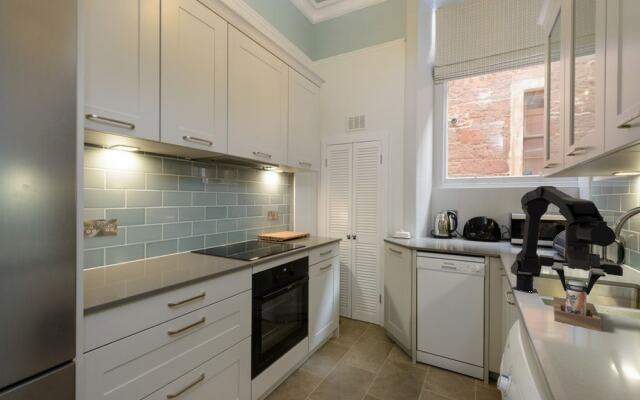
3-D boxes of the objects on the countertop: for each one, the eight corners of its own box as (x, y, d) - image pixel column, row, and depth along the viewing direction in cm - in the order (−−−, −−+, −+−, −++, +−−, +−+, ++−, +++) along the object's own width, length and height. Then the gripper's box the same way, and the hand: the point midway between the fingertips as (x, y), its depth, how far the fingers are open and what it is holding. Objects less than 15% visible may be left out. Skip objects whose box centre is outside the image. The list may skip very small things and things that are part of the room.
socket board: (553, 305, 99) (553, 296, 99) (592, 312, 93) (593, 303, 93) (554, 320, 85) (554, 310, 85) (601, 331, 79) (601, 320, 79)
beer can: (561, 318, 87) (562, 279, 87) (569, 315, 89) (570, 277, 89) (581, 324, 83) (582, 283, 83) (589, 321, 85) (590, 281, 85)
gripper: (538, 240, 86) (536, 292, 86) (627, 248, 74) (626, 308, 74) (538, 237, 94) (537, 284, 94) (619, 244, 83) (618, 297, 83)
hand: (576, 292), depth 86 cm, fingers closed on beer can, 5 cm apart
